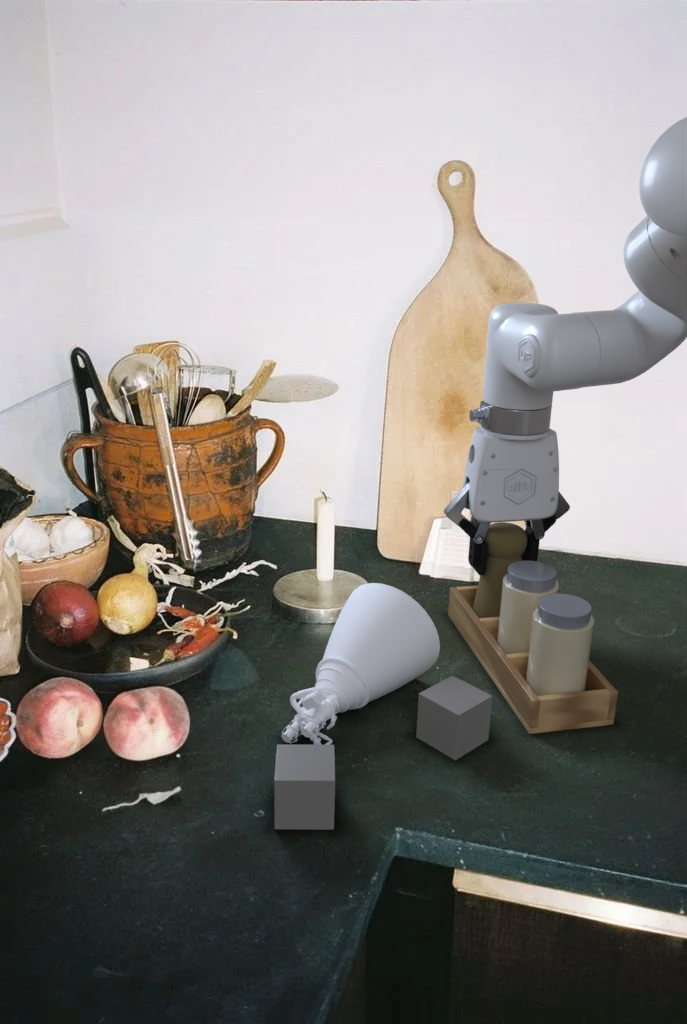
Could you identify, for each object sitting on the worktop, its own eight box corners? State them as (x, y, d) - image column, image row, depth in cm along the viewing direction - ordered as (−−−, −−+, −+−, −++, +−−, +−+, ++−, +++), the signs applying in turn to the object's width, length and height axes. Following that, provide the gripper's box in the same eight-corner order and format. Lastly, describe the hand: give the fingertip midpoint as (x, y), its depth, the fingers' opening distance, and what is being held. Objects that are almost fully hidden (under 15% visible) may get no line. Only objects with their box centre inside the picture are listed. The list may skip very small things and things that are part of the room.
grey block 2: (488, 740, 91) (492, 695, 89) (455, 760, 88) (458, 715, 86) (449, 718, 95) (452, 675, 93) (415, 737, 91) (418, 693, 90)
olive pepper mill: (471, 621, 109) (478, 533, 105) (473, 598, 115) (479, 514, 111) (524, 625, 108) (533, 538, 104) (523, 603, 114) (531, 518, 110)
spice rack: (516, 609, 118) (519, 581, 116) (613, 724, 94) (618, 692, 93) (447, 615, 116) (449, 587, 114) (529, 734, 92) (532, 701, 91)
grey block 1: (334, 829, 79) (335, 780, 77) (274, 829, 79) (274, 780, 77) (333, 791, 83) (334, 744, 82) (277, 791, 83) (277, 744, 81)
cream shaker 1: (558, 670, 103) (569, 579, 99) (507, 675, 101) (516, 584, 97) (537, 644, 108) (546, 557, 104) (487, 648, 107) (495, 560, 103)
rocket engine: (288, 673, 83) (391, 567, 96) (226, 704, 92) (329, 603, 104) (367, 773, 84) (460, 655, 96) (299, 794, 92) (393, 684, 105)
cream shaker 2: (593, 712, 95) (606, 616, 91) (538, 718, 94) (549, 620, 90) (567, 681, 101) (579, 589, 97) (515, 687, 99) (525, 593, 95)
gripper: (452, 430, 98) (442, 587, 104) (602, 424, 101) (583, 577, 108) (431, 412, 105) (422, 560, 111) (572, 407, 108) (556, 551, 115)
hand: (502, 567), depth 109 cm, fingers closed on olive pepper mill, 5 cm apart
